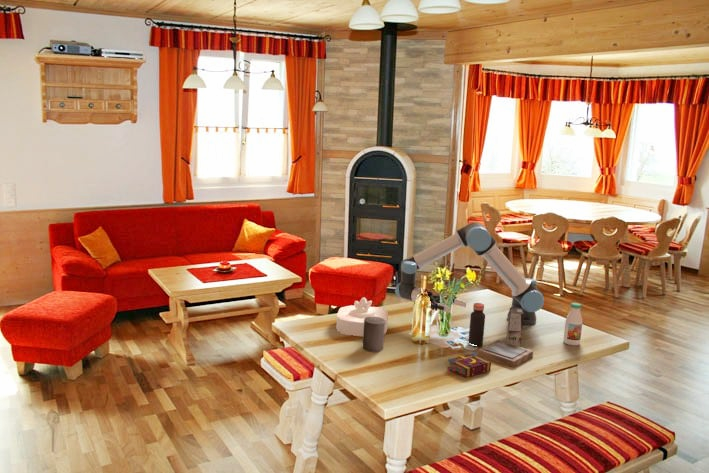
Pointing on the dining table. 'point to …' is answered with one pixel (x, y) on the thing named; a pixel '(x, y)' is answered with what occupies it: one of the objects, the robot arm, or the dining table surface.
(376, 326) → the pillar candle
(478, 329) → the vinegar
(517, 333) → the coffee box
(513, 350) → the brown flat square board
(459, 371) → the decorative book
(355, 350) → the dining table surface
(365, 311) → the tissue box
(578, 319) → the milk bottle
